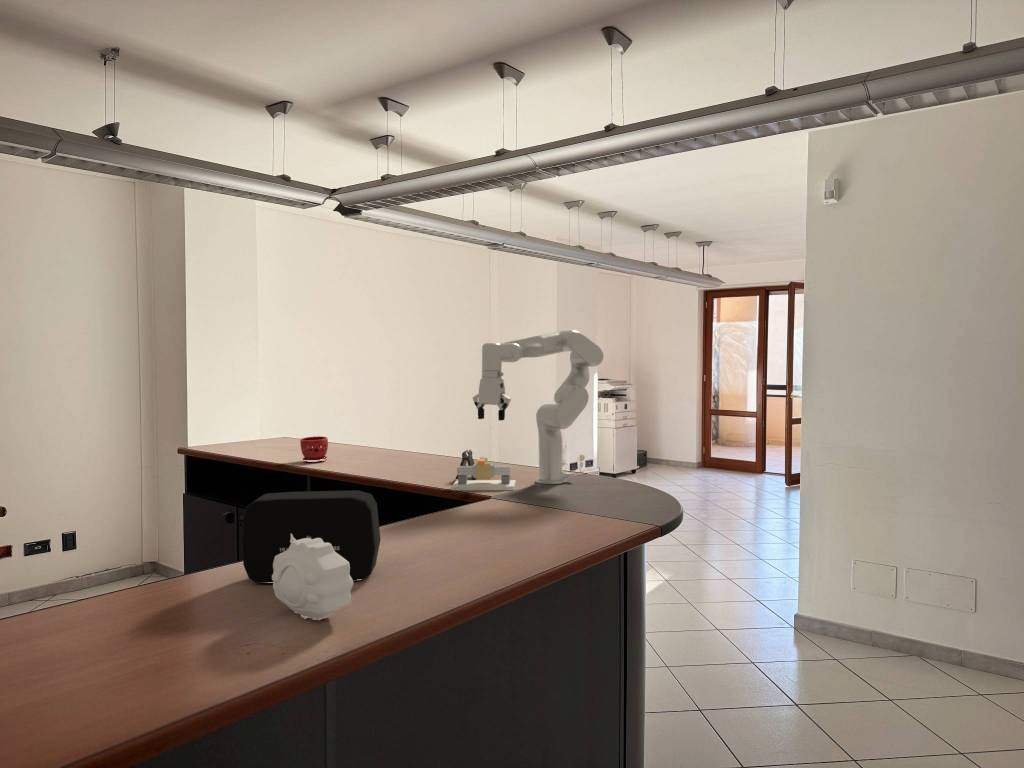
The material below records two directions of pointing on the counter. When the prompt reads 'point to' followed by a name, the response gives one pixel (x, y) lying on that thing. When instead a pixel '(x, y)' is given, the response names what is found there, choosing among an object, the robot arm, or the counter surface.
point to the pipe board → (484, 484)
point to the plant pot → (314, 447)
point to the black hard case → (311, 528)
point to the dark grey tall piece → (467, 459)
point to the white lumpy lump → (312, 578)
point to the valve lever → (481, 461)
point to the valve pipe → (484, 471)
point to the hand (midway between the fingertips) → (491, 419)
